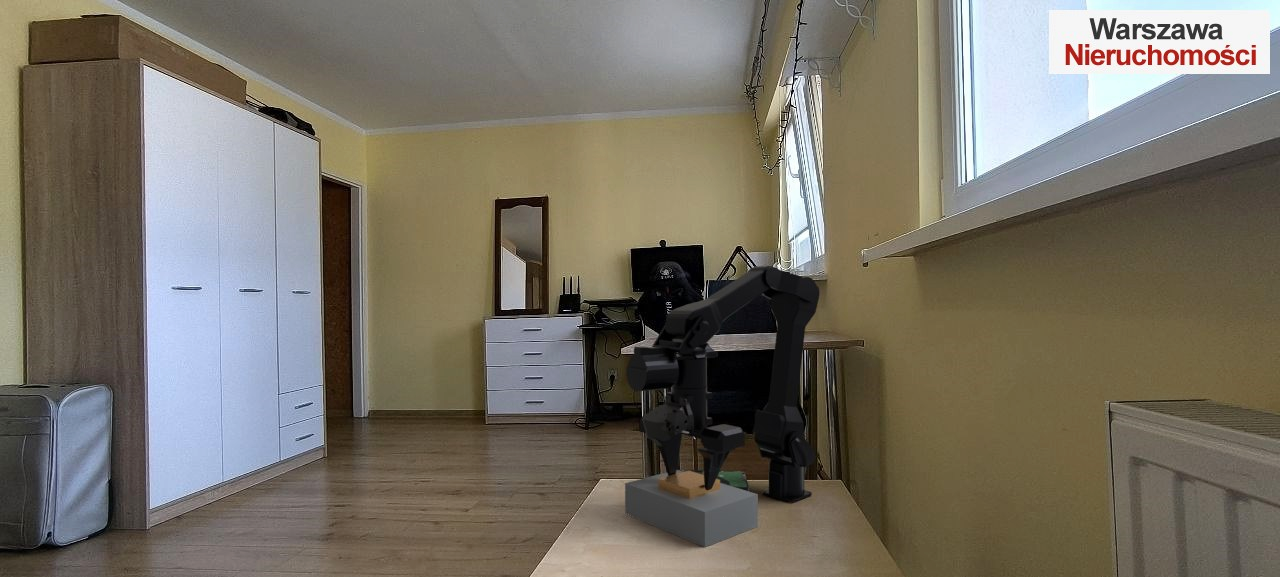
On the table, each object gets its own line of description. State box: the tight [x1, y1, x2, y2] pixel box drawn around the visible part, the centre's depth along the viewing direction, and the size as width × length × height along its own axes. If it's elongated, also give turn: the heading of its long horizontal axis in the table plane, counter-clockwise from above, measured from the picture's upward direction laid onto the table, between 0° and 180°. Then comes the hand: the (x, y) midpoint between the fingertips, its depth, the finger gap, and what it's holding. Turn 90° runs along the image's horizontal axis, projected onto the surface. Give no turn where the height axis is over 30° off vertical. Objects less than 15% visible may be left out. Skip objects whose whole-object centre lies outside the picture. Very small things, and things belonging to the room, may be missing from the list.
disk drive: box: [678, 469, 750, 492], centre depth 113 cm, size 10×3×15 cm
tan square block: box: [658, 471, 720, 499], centre depth 97 cm, size 7×7×6 cm
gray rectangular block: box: [624, 469, 759, 548], centre depth 97 cm, size 12×18×5 cm, turn 41°
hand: (689, 483), depth 97 cm, fingers open, 8 cm apart
